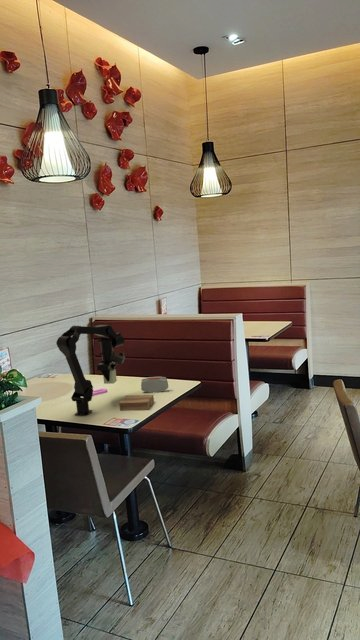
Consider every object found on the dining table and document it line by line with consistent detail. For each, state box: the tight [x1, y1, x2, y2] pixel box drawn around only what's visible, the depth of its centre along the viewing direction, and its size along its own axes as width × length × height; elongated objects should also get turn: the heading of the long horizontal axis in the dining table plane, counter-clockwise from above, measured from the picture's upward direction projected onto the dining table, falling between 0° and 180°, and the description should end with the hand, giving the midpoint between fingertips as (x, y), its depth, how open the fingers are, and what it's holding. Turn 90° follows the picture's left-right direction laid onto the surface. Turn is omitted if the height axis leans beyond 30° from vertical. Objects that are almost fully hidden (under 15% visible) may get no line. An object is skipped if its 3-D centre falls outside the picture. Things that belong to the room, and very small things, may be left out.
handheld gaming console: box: [140, 376, 169, 394], centre depth 272 cm, size 14×3×8 cm, turn 88°
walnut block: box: [118, 394, 155, 411], centre depth 250 cm, size 12×14×4 cm
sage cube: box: [102, 368, 118, 385], centre depth 260 cm, size 5×5×6 cm
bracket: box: [92, 388, 108, 397], centre depth 278 cm, size 13×6×7 cm, turn 122°
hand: (110, 379), depth 260 cm, fingers closed on sage cube, 5 cm apart
